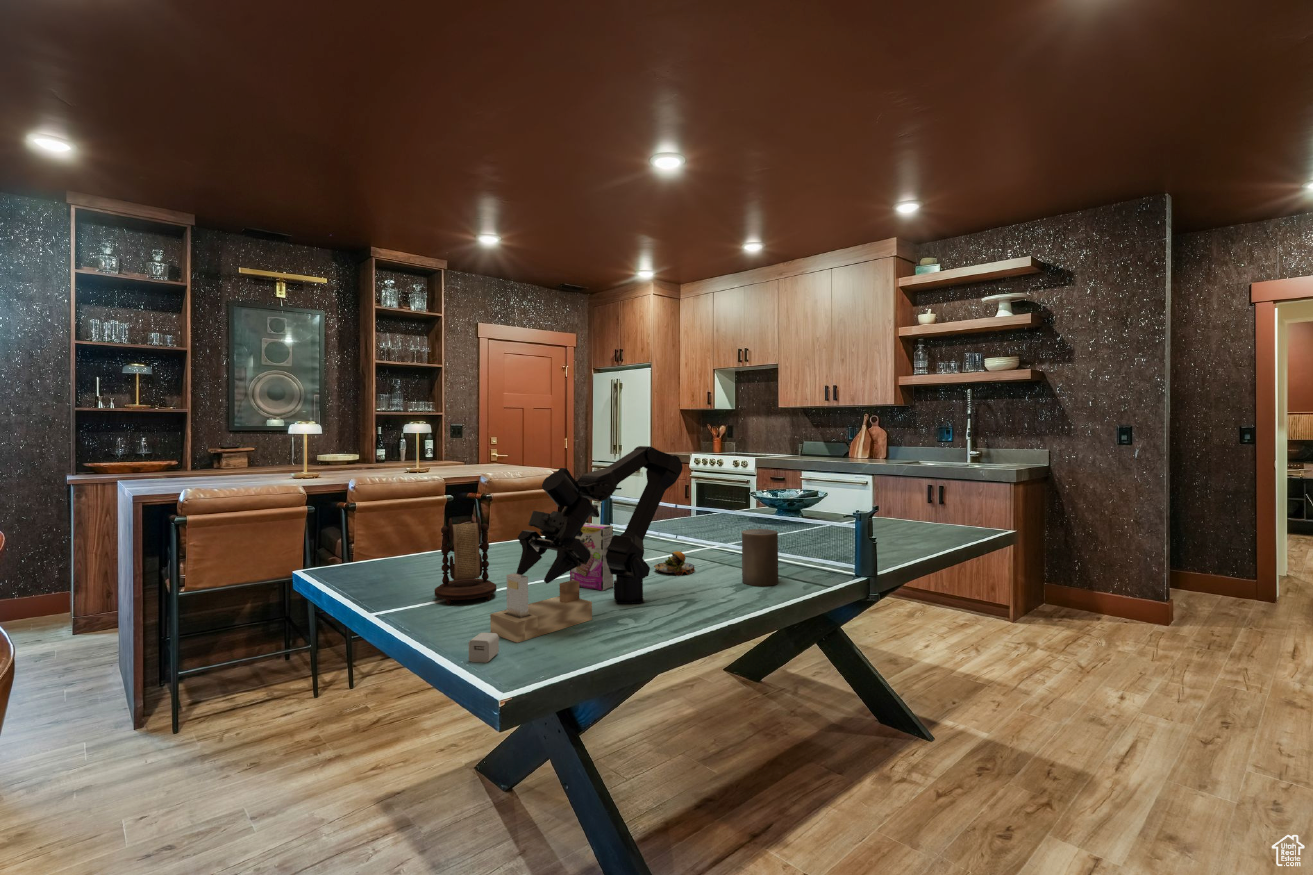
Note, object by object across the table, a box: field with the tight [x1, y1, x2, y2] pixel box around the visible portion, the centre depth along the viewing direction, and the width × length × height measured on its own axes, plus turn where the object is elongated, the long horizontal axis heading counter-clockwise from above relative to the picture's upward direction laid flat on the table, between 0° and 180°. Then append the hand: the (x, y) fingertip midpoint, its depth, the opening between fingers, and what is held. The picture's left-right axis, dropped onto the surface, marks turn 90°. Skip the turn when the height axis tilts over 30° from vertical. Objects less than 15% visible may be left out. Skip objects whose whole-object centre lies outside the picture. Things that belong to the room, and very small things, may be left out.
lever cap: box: [506, 572, 529, 619], centre depth 138 cm, size 2×4×12 cm, turn 48°
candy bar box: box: [569, 522, 614, 592], centre depth 176 cm, size 11×5×16 cm, turn 58°
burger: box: [653, 548, 696, 577], centre depth 194 cm, size 12×12×8 cm
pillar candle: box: [741, 526, 779, 587], centre depth 180 cm, size 10×10×15 cm
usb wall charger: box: [468, 632, 500, 663], centre depth 126 cm, size 4×7×4 cm, turn 171°
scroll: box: [434, 516, 497, 606], centre depth 166 cm, size 15×15×20 cm
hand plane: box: [489, 580, 593, 644], centre depth 143 cm, size 20×9×8 cm, turn 138°
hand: (531, 578), depth 141 cm, fingers open, 9 cm apart
